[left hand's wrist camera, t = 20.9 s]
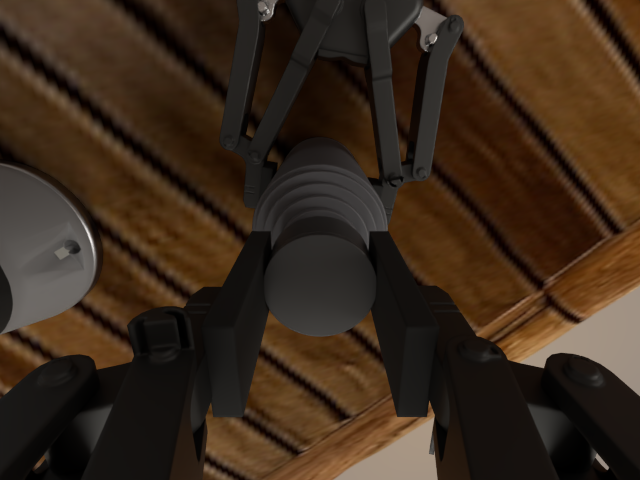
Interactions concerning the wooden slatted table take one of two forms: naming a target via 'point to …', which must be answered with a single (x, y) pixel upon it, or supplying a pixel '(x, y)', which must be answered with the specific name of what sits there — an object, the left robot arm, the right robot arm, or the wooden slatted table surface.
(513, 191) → the wooden slatted table surface
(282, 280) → the cap
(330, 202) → the bottle
